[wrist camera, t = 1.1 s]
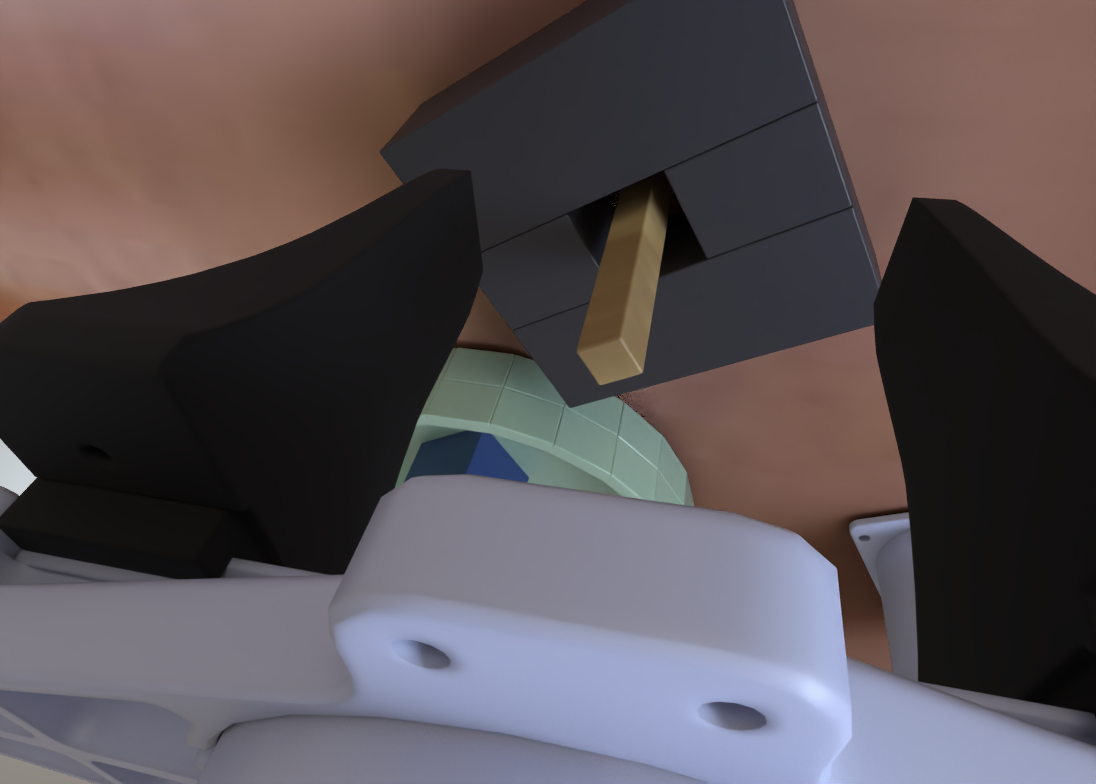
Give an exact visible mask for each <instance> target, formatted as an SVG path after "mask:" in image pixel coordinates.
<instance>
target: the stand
mask: <svg viewBox="0 0 1096 784" xmlns="http://www.w3.org/2000/svg"><path fill="white" fill-rule="evenodd" d="M380 154H381V155H382V156H383V158H384V159H385V160H386V162H387V163H388V164H389V166H390V167H391V168H392V170H393V171H394V173H395V174H396V175H397V177H398V178H399V179H400V181H401V182H402V183H403V185H404V184H405V183H407V182H409V181H411V180H413V179H415V178H417V177H419V176H421V175H423V174H425V173H427V172H430V171H432V170H435V169H438V168H439V169H456V170H471V176H472V183H473V191H474V199H475V207H476V215H477V222H478V230H479V238H480V246H481V253H482V261H483V269H484V270H483V273H482V277H481V280H480V283H479V287H480V288H481V290H482V291H483V292H484V294H485V295H486V296H487V298H488V299H489V300H490V302H491V303H492V304H493V306H494V307H495V309H496V310H497V311H498V313H499V314H500V315H501V317H502V318H503V319H504V321H505V322H506V323H507V325H508V326H509V327H510V329H511V330H513V333H514V334H515V335H516V337H517V338H518V339H519V341H520V342H521V343H522V345H523V346H524V347H525V349H526V350H527V351H528V353H529V354H530V355H531V357H532V358H533V360H534V361H535V362H536V364H537V365H538V366H539V368H540V369H541V370H542V372H543V373H544V374H545V376H546V377H547V378H548V380H549V381H550V382H551V384H552V385H553V386H554V388H555V389H556V391H557V392H558V393H559V395H560V396H561V397H562V399H563V400H564V401H565V403H566V404H567V405H568V407H569V408H573V407H577V406H580V405H584V404H588V403H591V402H595V401H598V400H602V399H606V398H609V397H613V396H617V395H620V394H624V393H627V392H631V391H635V390H638V389H642V388H646V387H649V386H653V385H657V384H660V383H664V382H667V381H671V380H675V379H678V378H682V377H686V376H689V375H693V374H696V373H700V372H704V371H707V370H711V369H715V368H718V367H722V366H725V365H729V364H733V363H736V362H740V361H744V360H747V359H751V358H754V357H758V356H762V355H765V354H769V353H773V352H776V351H780V350H783V349H787V348H791V347H794V346H798V345H802V344H805V343H809V342H812V341H816V340H820V339H823V338H827V337H831V336H834V335H838V334H841V333H845V332H849V331H852V330H856V329H860V328H863V327H867V326H871V325H874V307H873V304H874V301H875V298H876V296H877V293H878V290H879V288H880V285H881V282H882V280H881V276H880V272H879V268H878V264H877V259H876V255H875V252H874V249H873V246H872V243H871V240H870V236H869V233H868V230H867V227H866V224H865V221H864V218H863V215H862V212H861V209H860V206H859V203H858V199H857V196H856V193H855V190H854V187H853V184H852V181H851V178H850V175H849V172H848V169H847V166H846V162H845V159H844V156H843V153H842V151H841V147H840V144H839V141H838V138H837V135H836V132H835V129H834V126H833V122H832V119H831V116H830V113H829V110H828V107H827V104H826V101H825V98H824V95H823V92H822V89H821V85H820V82H819V79H818V76H817V73H816V70H815V67H814V64H813V61H812V58H811V55H810V52H809V48H808V45H807V42H806V39H805V36H804V33H803V30H802V27H801V24H800V21H799V18H798V14H797V11H796V8H795V5H794V2H793V0H587V1H586V2H584V3H582V4H581V5H579V6H578V7H576V8H574V9H573V10H571V11H570V12H568V13H566V14H565V15H563V16H562V17H560V18H558V19H557V20H555V21H554V22H552V23H550V24H549V25H547V26H546V27H544V28H542V29H541V30H539V31H538V32H536V33H534V34H533V35H531V36H530V37H528V38H526V39H525V40H523V41H522V42H520V43H518V44H517V45H515V46H514V47H512V48H510V49H509V50H507V51H505V52H504V53H502V54H501V55H499V56H497V57H496V58H494V59H493V60H491V61H489V62H488V63H486V64H485V65H483V66H481V67H480V68H478V69H477V70H475V71H473V72H472V73H470V74H469V75H467V76H465V77H464V78H462V79H461V80H459V81H457V82H456V83H454V84H453V85H451V86H449V87H448V88H446V89H445V90H443V91H441V92H440V93H438V94H437V95H435V96H433V97H432V98H430V99H428V100H427V101H425V102H424V103H422V104H421V105H420V106H419V107H418V108H417V109H416V110H415V112H414V113H413V114H412V115H411V116H410V117H409V118H408V120H407V121H406V122H405V123H404V124H403V125H402V127H401V128H400V129H399V130H398V131H397V132H396V133H395V135H394V136H393V137H392V138H391V139H390V140H389V141H388V143H387V144H386V145H385V146H384V147H383V148H382V149H381V151H380ZM662 170H664V173H665V175H666V177H667V179H668V181H669V183H670V185H671V187H672V189H673V191H674V193H675V195H676V197H677V199H678V201H679V203H680V205H681V207H682V209H683V211H684V213H682V214H679V215H677V216H674V217H672V218H670V219H668V223H667V229H666V235H665V241H664V247H663V253H662V259H661V265H660V272H659V278H658V284H657V290H656V296H655V302H654V308H653V314H652V320H651V326H650V332H649V339H648V345H647V351H646V357H645V363H644V369H643V372H642V373H641V374H639V375H635V376H632V377H628V378H625V379H621V380H618V381H615V382H611V383H608V384H604V385H599V384H598V383H597V382H596V380H595V379H594V377H593V376H592V374H591V373H590V371H589V370H588V368H587V367H586V366H585V364H584V363H583V361H582V360H581V358H580V357H579V355H578V354H577V351H576V350H577V346H578V342H579V339H580V335H581V332H582V328H583V324H584V321H585V317H586V313H587V310H588V306H589V303H590V299H591V295H592V292H593V288H594V285H595V281H596V277H597V274H598V270H599V267H600V263H601V259H602V256H603V252H604V249H605V245H606V241H607V238H608V234H609V231H610V227H611V223H612V220H613V216H614V213H615V210H614V208H613V206H612V204H611V202H610V201H609V199H608V197H607V195H609V194H611V193H613V192H615V191H618V190H620V189H622V188H624V187H627V186H629V185H631V184H633V183H635V182H638V181H640V180H642V179H644V178H647V177H649V176H651V175H653V174H656V173H658V172H660V171H662Z"/></svg>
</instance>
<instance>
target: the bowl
mask: <svg viewBox="0 0 1096 784" xmlns="http://www.w3.org/2000/svg"><path fill="white" fill-rule="evenodd" d="M466 430H468V431H475V432H482V433H490V434H492V435H493V436H494V437H495V438H496V440H497V441H498V442H499V443H500V444H501V445H502V447H503V448H504V449H505V450H506V451H507V452H508V454H509V455H510V456H511V457H512V458H513V459H514V461H515V462H516V463H517V464H518V465H519V466H520V467H521V469H522V470H523V471H524V472H525V473H526V474H527V476H528V477H529V480H528V483H534V484H541V485H548V486H555V487H562V488H569V489H576V490H582V491H589V492H596V493H603V494H610V495H617V496H624V497H630V498H637V499H644V500H651V501H658V502H665V503H672V504H679V505H685V506H692V507H694V502H693V497H692V493H691V489H690V484H689V480H688V476H687V472H686V470H685V468H684V467H683V465H682V464H681V462H680V461H679V459H678V458H677V456H676V455H675V453H674V451H673V450H672V448H671V447H670V445H669V444H668V442H667V441H666V439H665V438H664V436H662V434H661V433H659V432H658V431H657V430H656V429H655V428H654V427H653V426H651V425H650V424H649V423H648V422H647V421H646V420H645V419H644V418H642V417H641V416H640V415H639V414H638V413H637V412H636V411H634V410H633V409H632V408H631V407H630V406H629V405H628V404H626V403H625V402H623V401H622V400H620V399H619V398H617V397H615V396H613V397H609V398H606V399H602V400H598V401H595V402H591V403H588V404H584V405H580V406H577V407H573V408H569V407H568V405H567V404H566V403H565V401H564V400H563V399H562V397H561V396H560V395H559V393H558V392H557V391H556V389H555V388H554V386H553V385H552V384H551V382H550V381H549V380H548V378H547V377H546V376H545V374H544V373H543V372H542V370H541V369H540V368H539V366H538V365H537V364H536V362H535V361H534V360H531V359H528V358H525V357H522V356H519V355H514V354H508V353H500V352H492V351H484V350H475V349H467V348H459V347H458V348H453V349H452V351H451V353H450V355H449V357H448V359H447V361H446V363H445V365H444V367H443V369H442V371H441V373H440V375H439V377H438V379H437V381H436V383H435V385H434V387H433V389H432V391H431V393H430V395H429V397H428V399H427V401H426V403H425V405H424V408H423V410H422V412H421V415H420V417H419V419H418V422H417V424H416V427H415V430H414V433H413V436H412V439H411V441H410V444H409V447H408V450H407V453H406V455H405V458H404V461H403V464H402V467H401V470H400V473H399V476H398V479H397V482H396V486H395V488H396V487H398V486H399V485H401V484H402V483H404V480H405V478H406V476H407V474H408V472H409V470H410V467H411V465H412V463H413V461H414V459H415V456H416V454H417V452H418V450H419V448H420V445H421V444H422V443H424V442H427V441H431V440H434V439H438V438H442V437H445V436H449V435H452V434H456V433H459V432H463V431H466Z"/></svg>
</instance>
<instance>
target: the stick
mask: <svg viewBox="0 0 1096 784" xmlns="http://www.w3.org/2000/svg"><path fill="white" fill-rule="evenodd" d="M672 192H673V189H672V187H671V185H670V183H669V181H668V179H667V177H666V175H665V173H664V170H662V171H660V172H658V173H656V174H653V175H651V176H649V177H647V178H644V179H642V180H640V181H638V182H635V183H633V184H631V185H629V186H627V187H624V188H622V189H621V191H620V194H619V198H618V202H617V205H616V209H615V213H614V216H613V220H612V223H611V227H610V231H609V234H608V238H607V241H606V245H605V249H604V252H603V256H602V259H601V263H600V267H599V270H598V274H597V277H596V281H595V285H594V288H593V292H592V295H591V299H590V303H589V306H588V310H587V313H586V317H585V321H584V324H583V328H582V332H581V335H580V339H579V342H578V346H577V350H576V351H577V354H578V355H579V357H580V358H581V360H582V361H583V363H584V364H585V366H586V367H587V368H588V370H589V371H590V373H591V374H592V376H593V377H594V379H595V380H596V382H597V383H598V384H599V385H604V384H608V383H611V382H615V381H618V380H621V379H625V378H628V377H632V376H635V375H639V374H641V373H642V372H643V369H644V363H645V357H646V351H647V345H648V339H649V332H650V326H651V320H652V314H653V308H654V302H655V296H656V290H657V284H658V278H659V272H660V265H661V259H662V253H663V247H664V241H665V235H666V229H667V223H668V217H669V211H670V205H671V199H672Z"/></svg>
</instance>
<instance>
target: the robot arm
mask: <svg viewBox="0 0 1096 784" xmlns="http://www.w3.org/2000/svg"><path fill="white" fill-rule="evenodd" d="M483 270H484V269H483V261H482V253H481V246H480V238H479V230H478V222H477V215H476V207H475V199H474V191H473V183H472V176H471V170H456V169H439V168H438V169H435V170H432V171H430V172H427V173H425V174H423V175H421V176H419V177H417V178H415V179H413V180H411V181H409V182H407V183H405V184H404V185H402V186H400V187H398V188H396V189H394V190H393V191H391V192H389V193H387V194H385V195H383V196H382V197H380V198H378V199H376V200H374V201H373V202H371V203H369V204H367V205H365V206H363V207H362V208H360V209H358V210H356V211H354V212H352V213H350V214H348V215H346V216H344V217H342V218H340V219H338V220H336V221H334V222H332V223H330V224H328V225H326V226H324V227H322V228H320V229H318V230H316V231H314V232H312V233H310V234H307V235H305V236H303V237H301V238H298V239H296V240H293V241H291V242H289V243H286V244H284V245H281V246H278V247H276V248H273V249H271V250H268V251H265V252H263V253H260V254H257V255H254V256H251V257H249V258H245V259H242V260H239V261H235V262H232V263H229V264H225V265H222V266H218V267H215V268H212V269H208V270H205V271H202V272H198V273H195V274H191V275H187V276H183V277H178V278H174V279H170V280H166V281H161V282H157V283H152V284H147V285H142V286H137V287H132V288H127V289H121V290H115V291H110V292H103V293H96V294H89V295H82V296H75V297H68V298H61V299H54V300H46V301H37V302H30V303H27V304H25V305H23V306H22V307H20V308H19V309H17V310H16V311H15V312H13V313H12V314H11V315H10V316H8V317H7V318H6V319H5V320H3V321H2V322H1V323H0V439H1V440H2V441H3V442H4V443H5V444H6V445H7V446H8V448H10V450H11V451H12V452H13V453H14V454H15V455H16V456H17V457H18V458H19V459H20V460H21V461H22V463H23V464H24V465H25V466H26V467H27V468H28V469H29V470H30V471H31V472H32V473H33V475H34V476H35V477H37V478H36V480H34V482H33V483H32V484H31V485H30V486H29V487H28V488H27V489H26V490H25V491H24V492H23V493H22V494H21V495H20V496H19V495H18V494H16V493H14V492H12V491H10V490H8V489H6V488H4V487H2V486H0V754H1V755H4V756H8V757H11V758H14V759H18V760H21V761H24V762H28V763H31V764H34V765H37V766H40V767H43V768H47V769H50V770H53V771H57V772H60V773H63V774H66V775H69V776H73V777H76V778H79V779H82V780H85V781H88V782H91V783H95V784H1096V295H1095V294H1094V293H1092V292H1090V291H1089V290H1087V289H1086V288H1084V287H1082V286H1081V285H1079V284H1078V283H1076V282H1074V281H1073V280H1071V279H1070V278H1068V277H1067V276H1065V275H1064V274H1062V273H1061V272H1059V271H1058V270H1056V269H1055V268H1054V267H1052V266H1051V265H1049V264H1048V263H1046V262H1045V261H1043V260H1042V259H1041V258H1039V257H1038V256H1036V255H1035V254H1034V253H1032V252H1031V251H1029V250H1028V249H1027V248H1025V247H1024V246H1023V245H1021V244H1020V243H1018V242H1017V241H1016V240H1014V239H1013V238H1012V237H1010V236H1009V235H1007V234H1006V233H1005V232H1003V231H1002V230H1001V229H999V228H998V227H997V226H995V225H994V224H992V223H991V222H990V221H988V220H987V219H985V218H984V217H983V216H981V215H980V214H978V213H977V212H975V211H974V210H972V209H971V208H969V207H968V206H966V205H964V204H962V203H960V202H958V201H957V200H946V199H930V198H914V197H913V199H912V201H911V204H910V207H909V209H908V212H907V215H906V218H905V220H904V223H903V226H902V228H901V231H900V234H899V236H898V239H897V242H896V244H895V247H894V250H893V253H892V255H891V258H890V261H889V263H888V266H887V269H886V271H885V274H884V277H883V279H882V282H881V285H880V288H879V290H878V293H877V296H876V298H875V301H874V304H873V307H874V329H875V343H876V355H877V359H878V364H879V369H880V373H881V377H882V382H883V386H884V391H885V395H886V399H887V403H888V407H889V411H890V416H891V420H892V424H893V428H894V432H895V437H896V441H897V445H898V449H899V453H900V457H901V462H902V467H903V473H904V479H905V484H906V493H907V503H908V512H907V513H900V514H893V515H886V516H879V517H872V518H865V519H858V520H854V521H852V522H851V523H850V524H849V530H850V534H851V536H852V538H853V540H854V543H855V545H856V547H857V549H858V551H859V553H860V555H861V557H862V559H863V561H864V563H865V565H866V567H867V569H868V571H869V574H870V576H871V578H872V580H873V582H874V584H875V586H876V588H877V590H878V592H879V594H880V596H881V599H882V606H883V612H884V619H885V625H886V632H887V638H888V645H889V652H890V658H891V665H892V671H893V673H892V672H889V671H886V670H883V669H881V668H878V667H875V666H872V665H870V664H867V663H864V662H861V661H859V660H856V659H853V658H850V657H848V656H846V651H845V642H844V632H843V623H842V613H841V604H840V594H839V584H838V575H837V568H836V567H835V566H834V565H833V564H831V563H830V562H829V561H828V560H827V559H826V558H825V557H823V556H822V555H821V554H820V553H819V552H818V551H817V550H815V549H814V548H813V547H812V546H811V545H810V544H809V543H807V542H806V541H805V540H804V539H803V538H802V537H801V536H799V535H798V534H796V533H794V532H792V531H791V530H788V529H785V528H782V527H779V526H775V525H772V524H769V523H766V522H762V521H759V520H756V519H753V518H750V517H746V516H743V515H740V514H737V513H733V512H727V511H720V510H713V509H706V508H699V507H692V506H685V505H679V504H672V503H665V502H658V501H651V500H644V499H637V498H630V497H624V496H617V495H610V494H603V493H596V492H589V491H582V490H576V489H569V488H562V487H555V486H548V485H541V484H534V483H528V482H521V481H514V480H507V479H500V478H493V477H486V476H480V475H473V474H460V475H428V476H418V477H412V478H410V479H409V480H407V481H406V482H404V483H402V484H401V485H399V486H398V487H396V488H395V486H396V482H397V479H398V476H399V473H400V470H401V467H402V464H403V461H404V458H405V455H406V453H407V450H408V447H409V444H410V441H411V439H412V436H413V433H414V430H415V427H416V424H417V422H418V419H419V417H420V415H421V412H422V410H423V408H424V405H425V403H426V401H427V399H428V397H429V395H430V393H431V391H432V389H433V387H434V385H435V383H436V381H437V379H438V377H439V375H440V373H441V371H442V369H443V367H444V365H445V363H446V361H447V359H448V357H449V355H450V353H451V351H452V349H453V347H454V345H455V343H456V341H457V339H458V337H459V335H460V333H461V331H462V329H463V327H464V325H465V323H466V320H467V318H468V316H469V314H470V312H471V309H472V306H473V303H474V300H475V296H476V293H477V290H478V287H479V283H480V280H481V277H482V273H483Z"/></svg>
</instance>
